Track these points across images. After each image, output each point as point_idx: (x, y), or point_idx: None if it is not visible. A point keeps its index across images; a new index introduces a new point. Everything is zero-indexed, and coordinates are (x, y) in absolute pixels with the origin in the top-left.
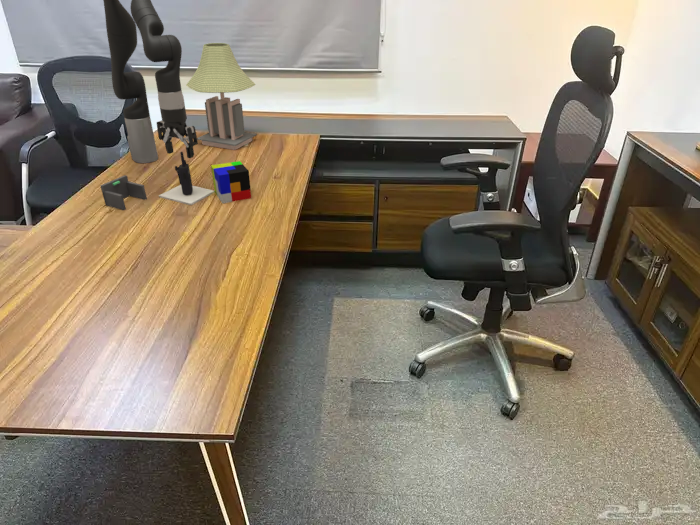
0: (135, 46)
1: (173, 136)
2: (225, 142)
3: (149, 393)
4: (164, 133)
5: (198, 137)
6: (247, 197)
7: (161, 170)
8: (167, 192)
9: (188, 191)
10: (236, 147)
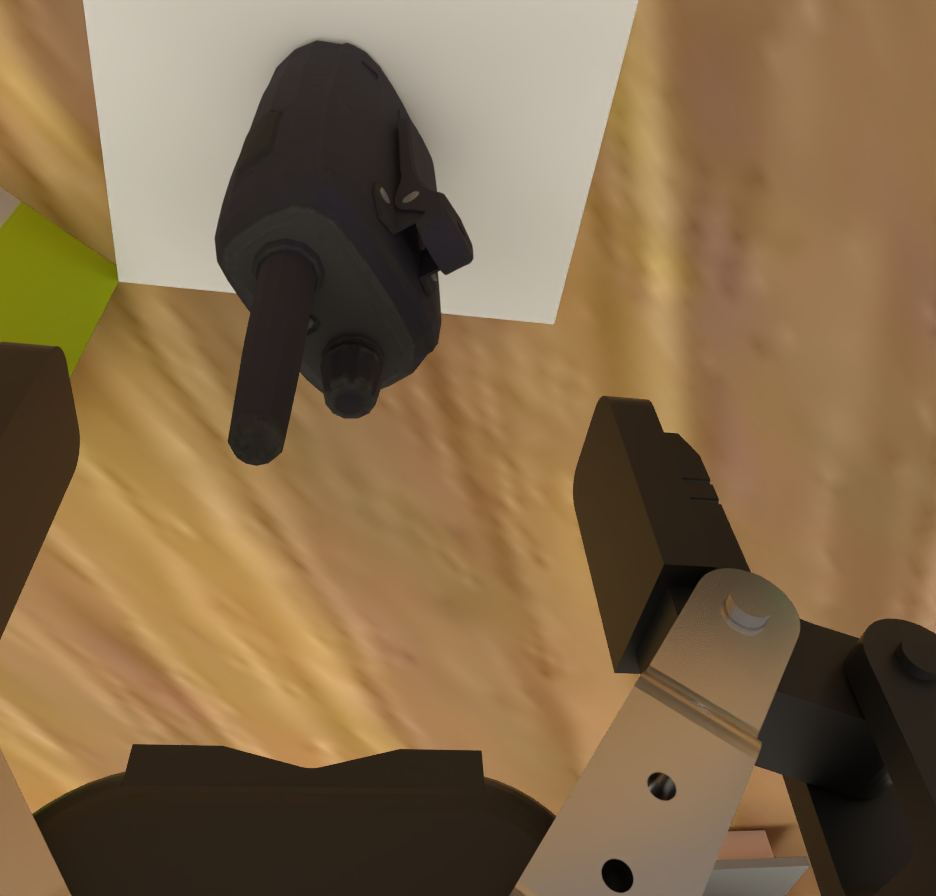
0: None
1: (392, 788)
2: None
3: None
4: (855, 839)
5: (801, 874)
6: None
7: (900, 491)
8: (597, 45)
9: (276, 73)
10: None
